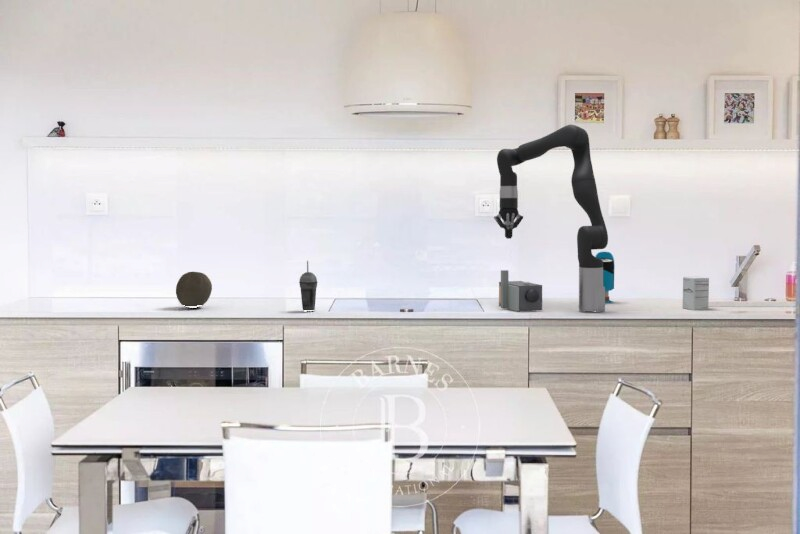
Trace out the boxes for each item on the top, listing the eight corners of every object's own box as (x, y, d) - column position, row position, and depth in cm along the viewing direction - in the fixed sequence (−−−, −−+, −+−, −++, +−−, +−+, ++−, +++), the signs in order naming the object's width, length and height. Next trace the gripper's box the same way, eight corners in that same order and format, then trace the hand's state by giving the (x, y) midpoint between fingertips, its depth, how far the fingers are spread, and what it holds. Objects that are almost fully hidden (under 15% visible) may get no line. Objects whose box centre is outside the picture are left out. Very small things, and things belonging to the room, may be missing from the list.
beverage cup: (301, 313, 401) (300, 261, 400) (297, 310, 408) (297, 260, 407) (319, 312, 403) (318, 261, 402) (316, 310, 410) (315, 260, 409)
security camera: (594, 252, 426) (592, 251, 436) (594, 303, 428) (592, 301, 438) (615, 252, 425) (612, 251, 435) (615, 303, 427) (612, 301, 437)
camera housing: (498, 306, 421) (498, 279, 420) (520, 305, 424) (520, 278, 423) (521, 312, 400) (521, 283, 399) (544, 311, 403) (544, 283, 402)
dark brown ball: (206, 310, 411) (205, 273, 410) (171, 310, 413) (170, 273, 412) (216, 306, 425) (215, 270, 424) (183, 306, 427) (182, 270, 426)
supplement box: (681, 308, 410) (682, 276, 409) (697, 307, 412) (697, 276, 411) (693, 310, 403) (693, 278, 402) (709, 309, 405) (709, 277, 404)
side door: (500, 308, 409) (500, 270, 408) (508, 308, 411) (508, 270, 409) (511, 311, 400) (511, 272, 399) (519, 310, 401) (519, 272, 400)
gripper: (519, 196, 437) (519, 237, 438) (490, 197, 433) (490, 238, 434) (526, 196, 430) (526, 238, 431) (497, 197, 426) (497, 239, 427)
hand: (508, 238), depth 433 cm, fingers closed
